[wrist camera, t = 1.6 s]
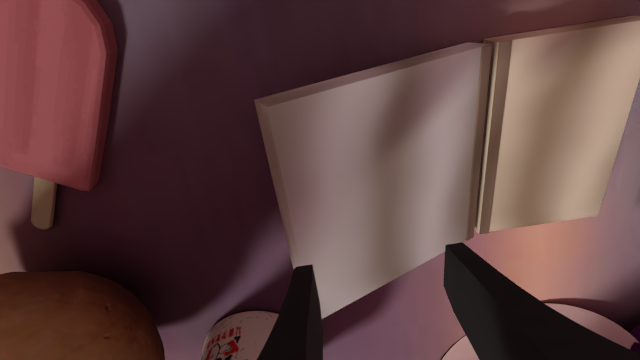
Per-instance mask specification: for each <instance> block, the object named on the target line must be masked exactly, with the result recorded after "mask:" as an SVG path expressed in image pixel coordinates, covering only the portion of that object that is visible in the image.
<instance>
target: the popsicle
mask: <svg viewBox="0 0 640 360" xmlns="http://www.w3.org/2000/svg"><path fill="white" fill-rule="evenodd" d="M117 55H118V47H117V43H116V38H115V33H114V29H113V24H112V22H111V20H110V19H109V17H108V16H107V14H106V13H105V12H104V10H103V9H102V7H101V6H100V4H99V3H98V1H97V0H0V167H4V168H7V169H11V170H14V171H17V172H21V173H24V174H27V175H31V176H34V189H33V202H32V214H31V223H32V224H33V225H34V226H35V227H37V228H40V229H48V228H50V227H51V226H52V225H53V218H54V209H55V201H56V192H57V183H58V184H61V185H64V186H68V187H71V188H74V189H78V190H81V191H90V190H91V189H92V188H93V187H94V186H95V185H96V184H97V183H98V182H99V177H100V171H101V165H102V159H103V153H104V147H105V141H106V135H107V129H108V122H109V114H110V107H111V99H112V92H113V85H114V77H115V70H116V62H117Z"/></svg>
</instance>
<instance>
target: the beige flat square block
mask: <svg viewBox="0 0 640 360" xmlns="http://www.w3.org/2000/svg"><path fill="white" fill-rule="evenodd" d="M491 50H492V44H484V43H469V42H467V43H463V44H459V45H456V46H452V47H448V48H444V49H441V50H437V51H433V52H430V53H426V54H422V55H418V56H415V57H411V58H407V59H404V60H400V61H396V62H392V63H389V64H385V65H381V66H378V67H374V68H370V69H366V70H363V71H359V72H355V73H352V74H348V75H344V76H340V77H337V78H333V79H329V80H326V81H322V82H318V83H314V84H311V85H307V86H303V87H300V88H296V89H292V90H288V91H285V92H281V93H277V94H274V95H270V96H266V97H262V98H259V99H255V100H254V102H255V106H256V111H257V115H258V119H259V124H260V128H261V132H262V136H263V141H264V145H265V149H266V154H267V158H268V162H269V166H270V171H271V175H272V179H273V184H274V188H275V192H276V196H277V201H278V205H279V209H280V214H281V218H282V222H283V227H284V231H285V235H286V239H287V244H288V248H289V252H290V257H291V261H292V265H293V269H295V267H297V266H304V265H311V264H312V265H313V270H314V275H315V280H316V285H317V290H318V296H319V301H320V308H321V318H322V319H323V318H325V317H327V316H329V315H330V314H332V313H334V312H336V311H338V310H339V309H341V308H343V307H345V306H347V305H348V304H350V303H352V302H354V301H356V300H358V299H359V298H361V297H363V296H365V295H367V294H368V293H370V292H372V291H374V290H376V289H378V288H379V287H381V286H383V285H385V284H387V283H388V282H390V281H392V280H394V279H396V278H397V277H399V276H401V275H403V274H405V273H407V272H408V271H410V270H412V269H414V268H416V267H417V266H419V265H421V264H423V263H425V262H427V261H428V260H430V259H432V258H434V257H436V256H437V255H439V254H441V253H443V252H445V245H448V244H455V243H461V242H463V241H465V240H469V239H471V238H473V237H474V227H475V217H476V206H477V196H478V186H479V175H480V165H481V154H482V144H483V134H484V123H485V113H486V102H487V92H488V81H489V71H490V61H491Z"/></svg>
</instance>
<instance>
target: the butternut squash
mask: <svg viewBox="0 0 640 360" xmlns="http://www.w3.org/2000/svg"><path fill="white" fill-rule="evenodd" d="M0 360H165V356H164V347H163V343H162V340H161V337H160V334H159V332H158V329H157V327H156V325H155V323H154V321H153V319H152V317H151V315H150V314H149V312H148V310H147V309H146V307H145V305H144V304H143V303H142V302H141V301H140V300H139V299H138V298H137V297H136V296H135V295H134V294H133V293H131V292H130V291H129V290H127V289H126V288H124V287H122V286H121V285H119V284H117V283H116V282H113V281H111V280H109V279H107V278H104V277H101V276H98V275H94V274H91V273H87V272H84V271H50V272H10V273H5V274H0Z"/></svg>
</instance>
